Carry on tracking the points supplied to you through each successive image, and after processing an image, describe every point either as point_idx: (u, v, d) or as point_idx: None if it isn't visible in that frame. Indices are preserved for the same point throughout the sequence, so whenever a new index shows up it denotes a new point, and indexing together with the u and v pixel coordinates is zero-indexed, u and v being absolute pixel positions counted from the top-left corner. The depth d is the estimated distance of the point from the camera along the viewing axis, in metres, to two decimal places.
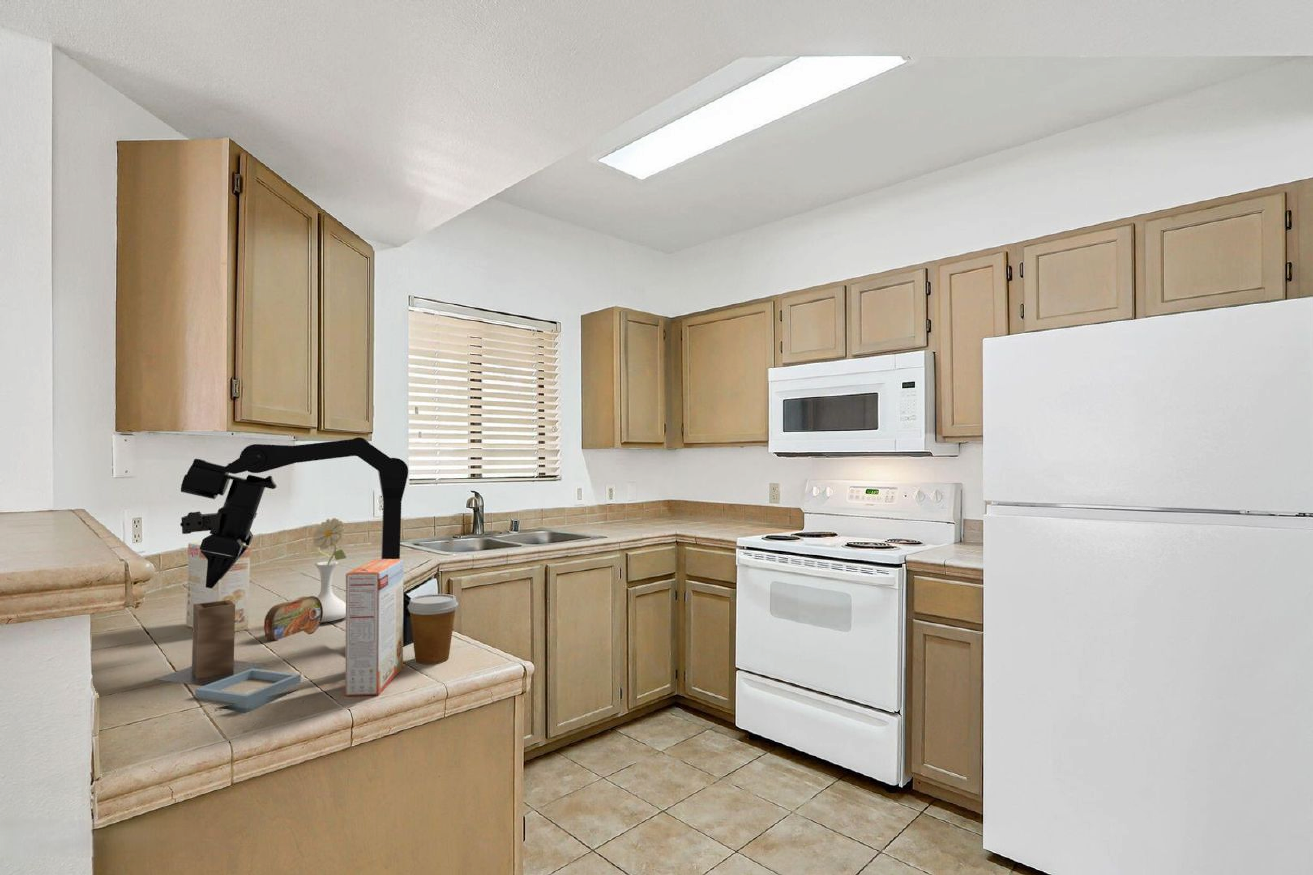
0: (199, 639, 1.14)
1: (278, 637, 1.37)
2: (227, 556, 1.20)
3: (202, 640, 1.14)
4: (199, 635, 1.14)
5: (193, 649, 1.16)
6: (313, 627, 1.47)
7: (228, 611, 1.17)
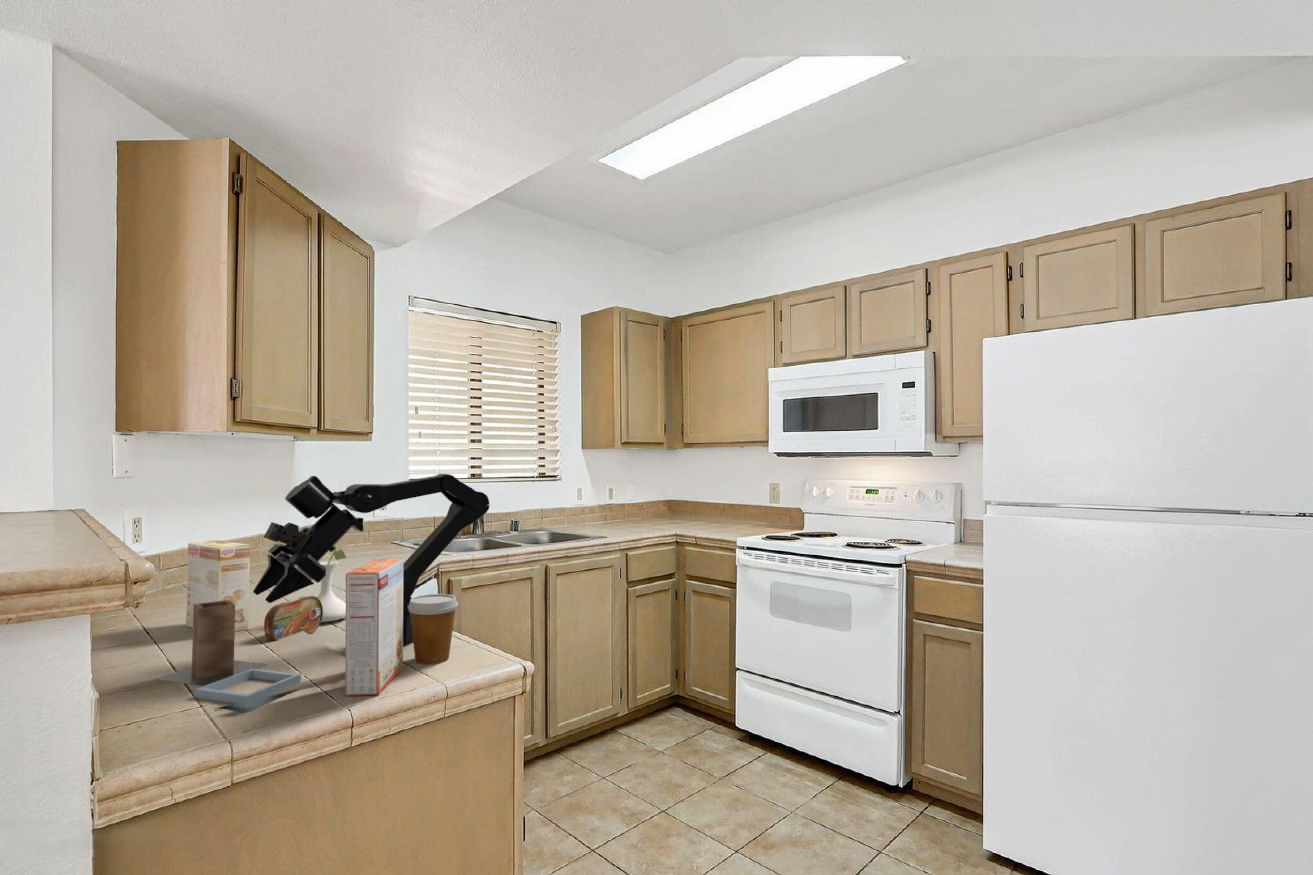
0: (199, 639, 1.14)
1: (278, 637, 1.37)
2: (308, 579, 1.21)
3: (202, 640, 1.14)
4: (199, 635, 1.14)
5: (193, 649, 1.16)
6: (313, 627, 1.47)
7: (228, 611, 1.17)
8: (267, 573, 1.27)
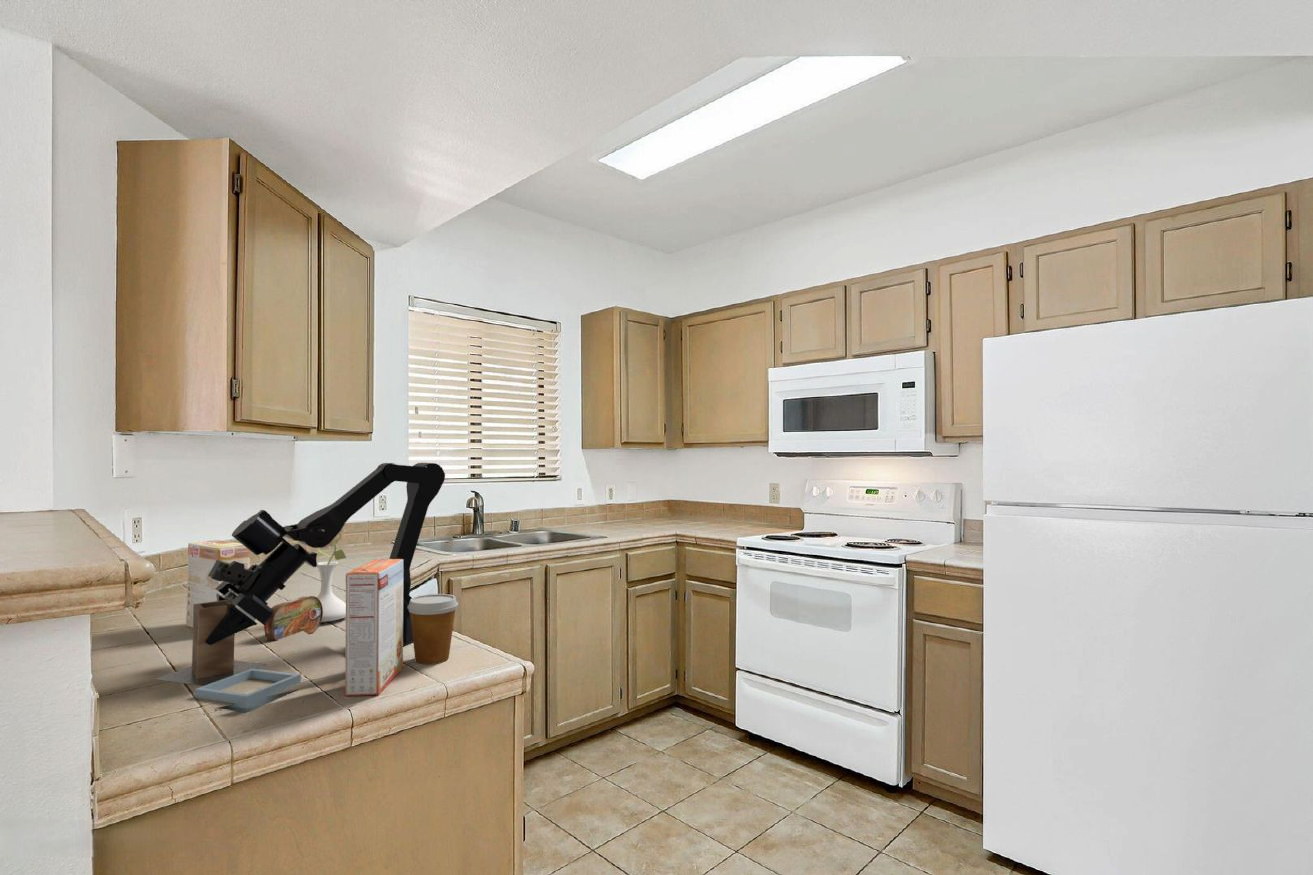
0: (199, 639, 1.13)
1: (278, 637, 1.37)
2: (251, 619, 1.16)
3: (202, 640, 1.14)
4: (199, 635, 1.13)
5: (193, 649, 1.16)
6: (313, 627, 1.47)
7: None
8: None
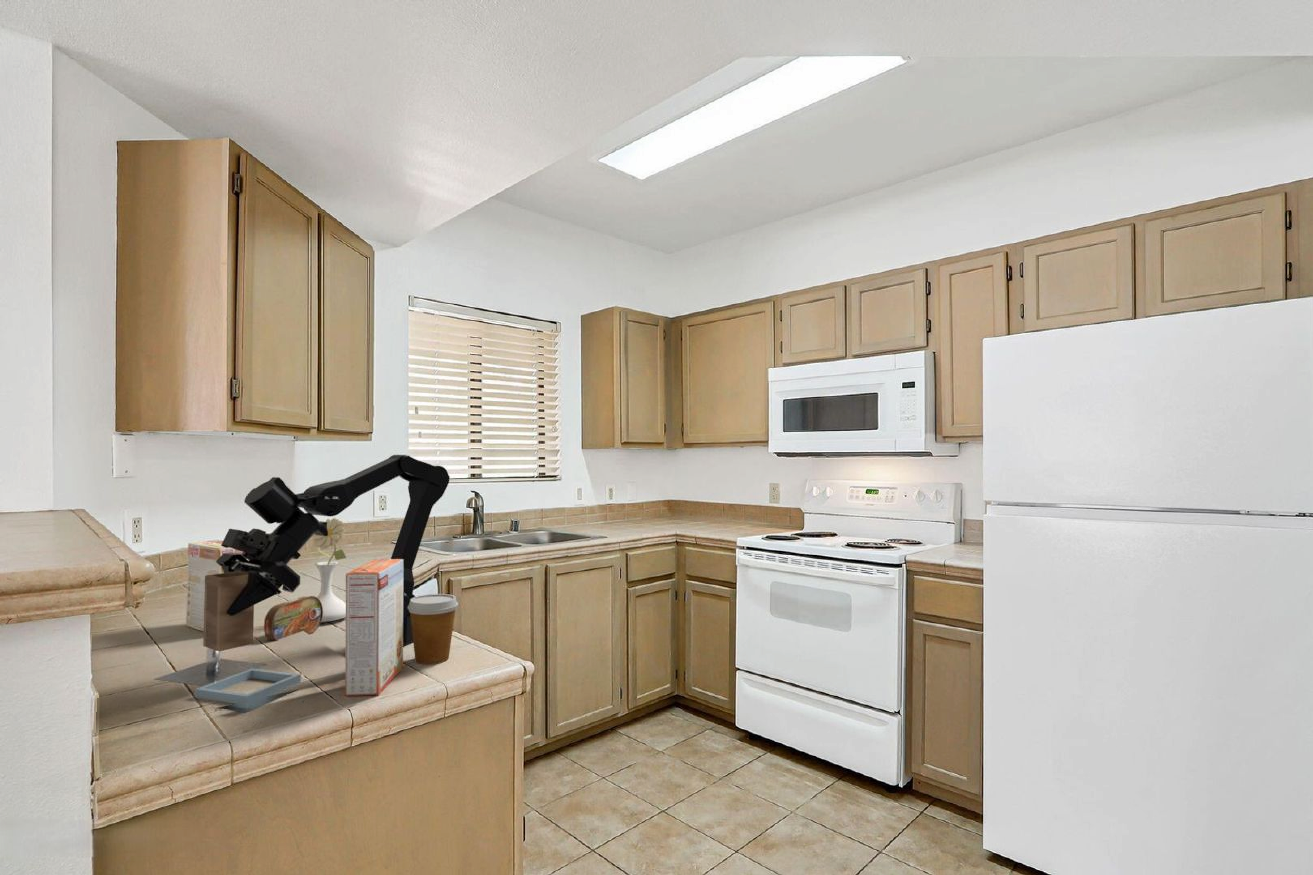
0: (220, 610, 1.08)
1: (278, 637, 1.37)
2: (276, 588, 1.12)
3: (223, 611, 1.09)
4: (220, 606, 1.08)
5: (206, 622, 1.10)
6: (313, 627, 1.47)
7: None
8: None
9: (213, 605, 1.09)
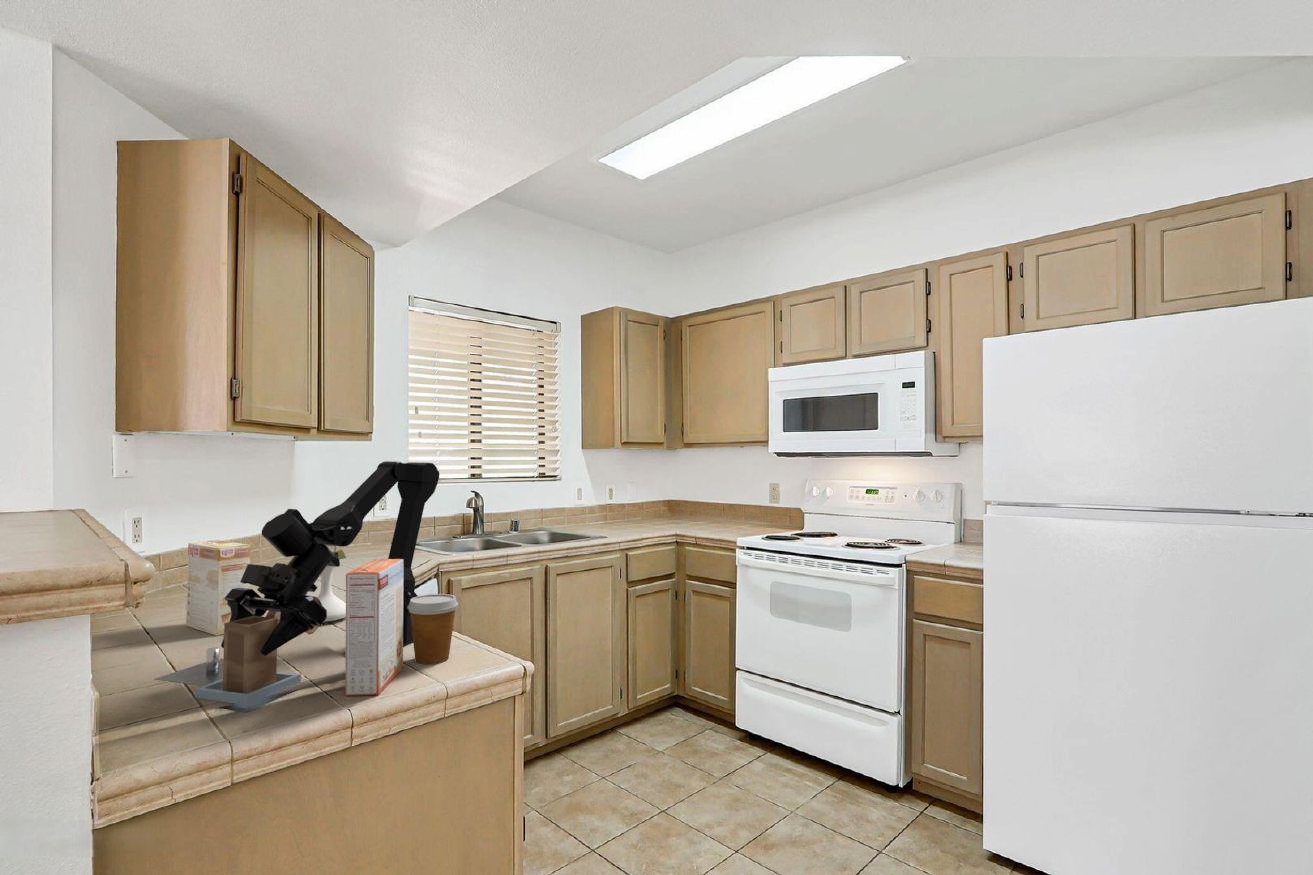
0: (248, 658, 1.05)
1: None
2: (309, 624, 1.10)
3: (250, 659, 1.06)
4: (248, 654, 1.05)
5: (227, 672, 1.06)
6: None
7: (272, 626, 1.09)
8: None
9: (237, 653, 1.06)
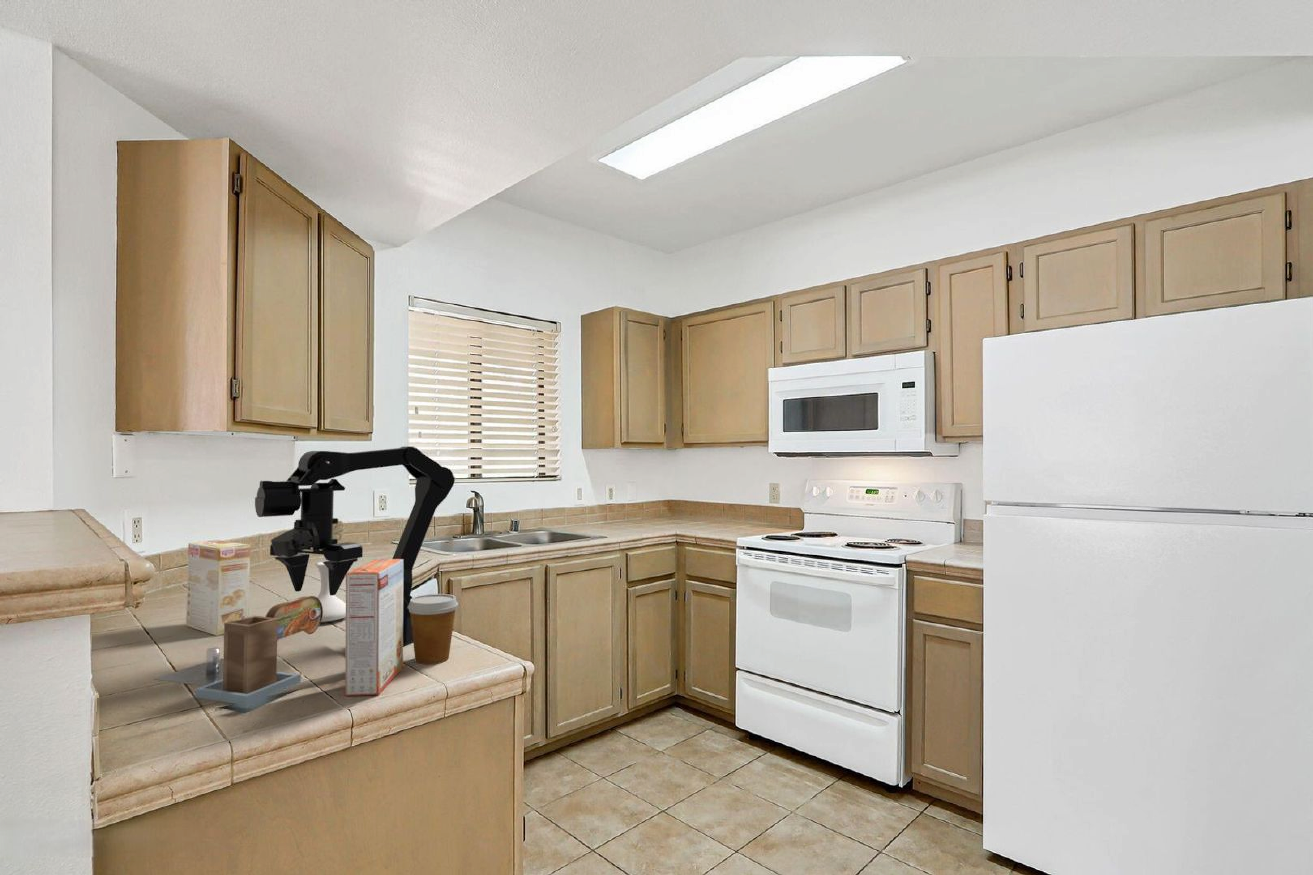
0: (248, 658, 1.05)
1: (278, 637, 1.37)
2: (352, 560, 1.27)
3: (250, 659, 1.06)
4: (248, 654, 1.05)
5: (227, 672, 1.06)
6: (313, 627, 1.47)
7: (272, 626, 1.09)
8: (293, 571, 1.29)
9: (237, 653, 1.06)
